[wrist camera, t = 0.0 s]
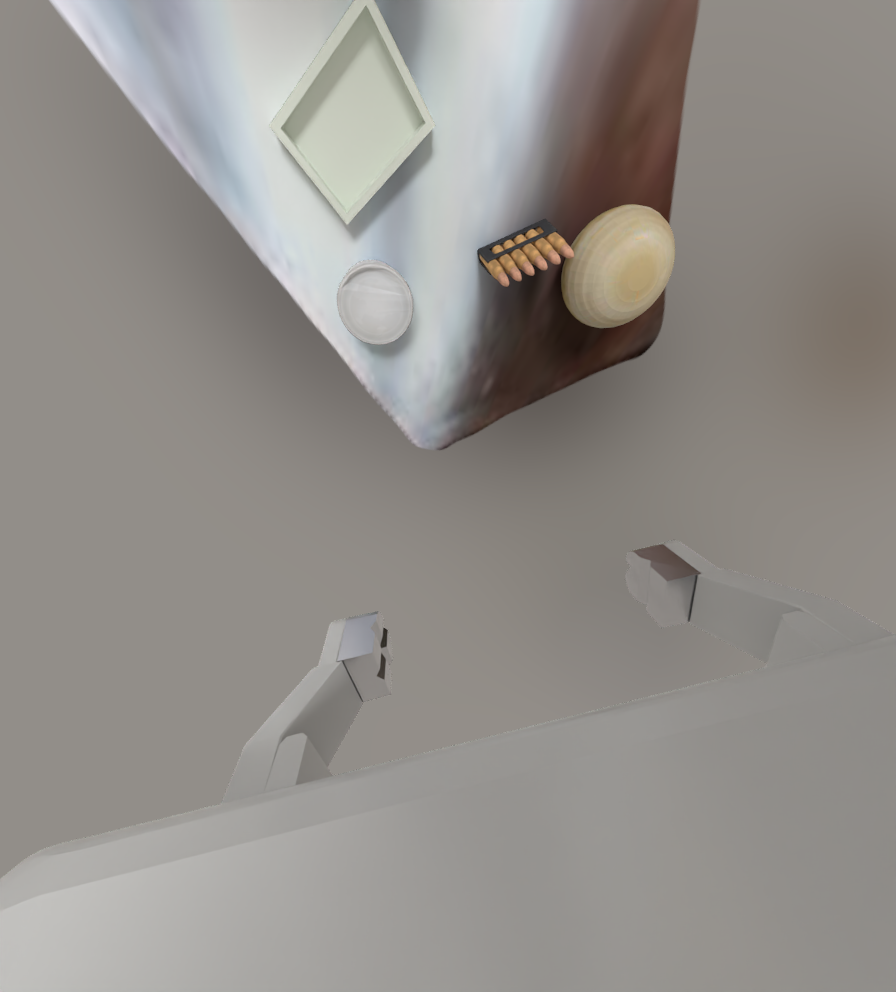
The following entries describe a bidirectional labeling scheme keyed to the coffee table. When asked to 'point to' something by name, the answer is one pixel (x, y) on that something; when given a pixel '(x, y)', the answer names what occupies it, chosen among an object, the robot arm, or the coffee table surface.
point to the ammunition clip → (524, 252)
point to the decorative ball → (618, 266)
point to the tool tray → (354, 112)
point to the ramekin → (374, 302)
